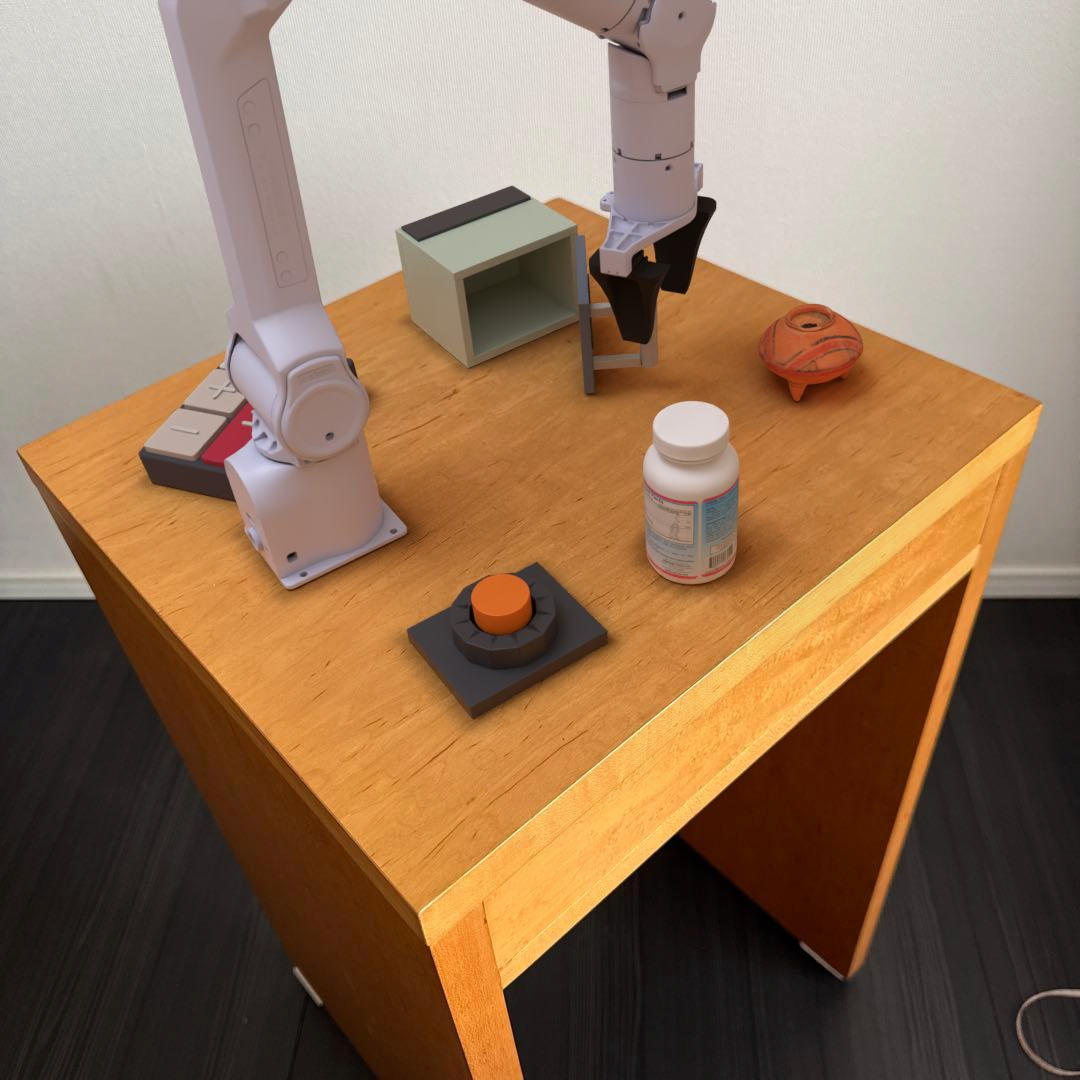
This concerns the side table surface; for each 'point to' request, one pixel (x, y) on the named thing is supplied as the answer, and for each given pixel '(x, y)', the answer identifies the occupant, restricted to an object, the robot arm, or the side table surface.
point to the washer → (490, 274)
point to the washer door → (586, 312)
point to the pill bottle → (691, 494)
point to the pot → (810, 346)
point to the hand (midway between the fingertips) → (655, 314)
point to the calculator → (202, 438)
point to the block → (506, 644)
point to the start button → (501, 604)
